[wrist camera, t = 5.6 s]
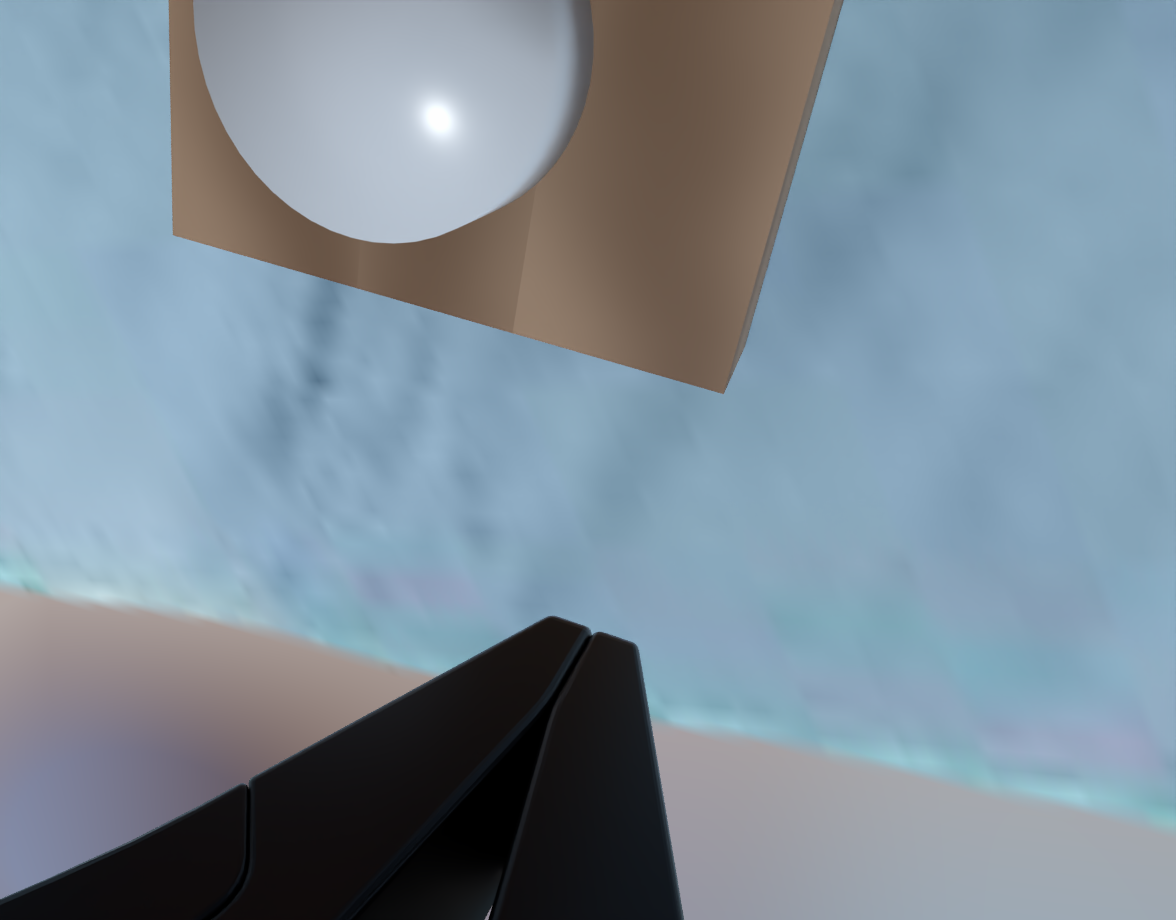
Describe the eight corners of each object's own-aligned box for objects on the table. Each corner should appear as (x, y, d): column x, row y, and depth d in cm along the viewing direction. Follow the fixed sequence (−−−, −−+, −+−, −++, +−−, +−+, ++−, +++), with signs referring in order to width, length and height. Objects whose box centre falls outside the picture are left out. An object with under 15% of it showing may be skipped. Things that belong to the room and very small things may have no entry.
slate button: (669, -102, 16) (588, -151, 12) (605, 224, 18) (518, 284, 14) (371, -161, 17) (191, -227, 12) (349, 156, 19) (194, 193, 15)
